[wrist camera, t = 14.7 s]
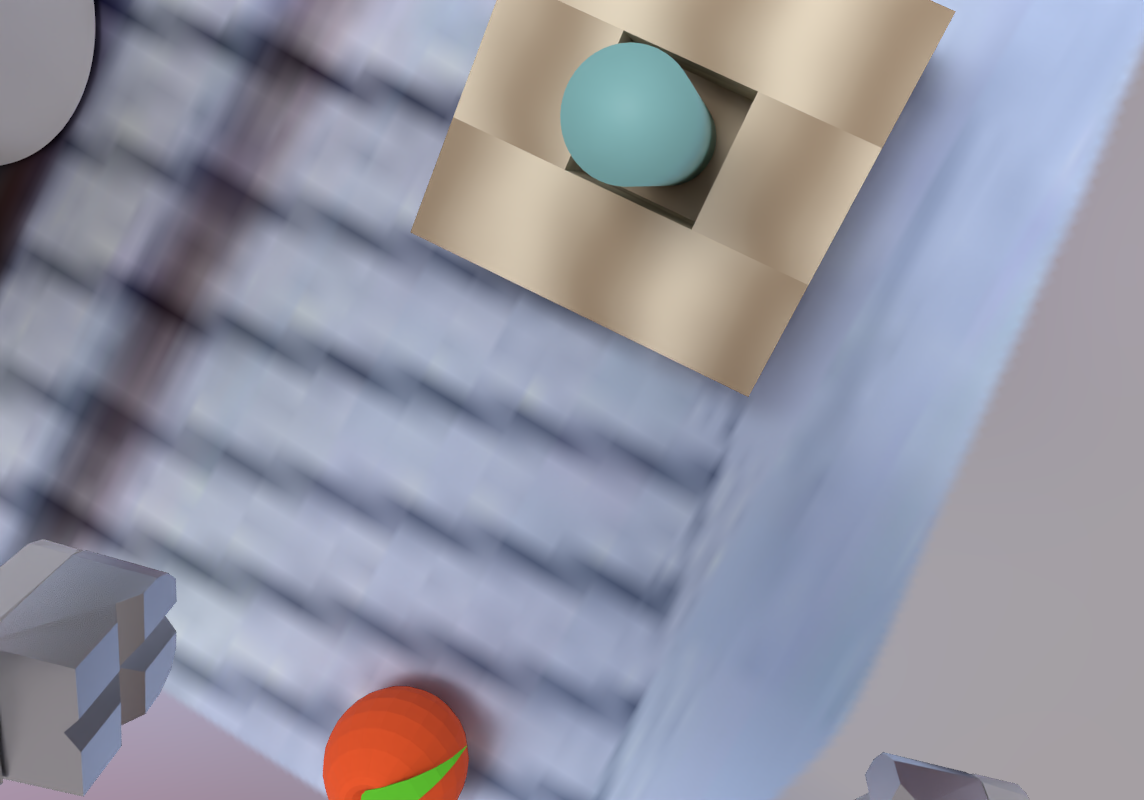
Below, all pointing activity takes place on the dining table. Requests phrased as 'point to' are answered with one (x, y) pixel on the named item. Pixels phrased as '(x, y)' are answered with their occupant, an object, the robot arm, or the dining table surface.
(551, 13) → the maple block
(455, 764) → the clementine
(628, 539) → the dining table surface
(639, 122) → the teal pin
